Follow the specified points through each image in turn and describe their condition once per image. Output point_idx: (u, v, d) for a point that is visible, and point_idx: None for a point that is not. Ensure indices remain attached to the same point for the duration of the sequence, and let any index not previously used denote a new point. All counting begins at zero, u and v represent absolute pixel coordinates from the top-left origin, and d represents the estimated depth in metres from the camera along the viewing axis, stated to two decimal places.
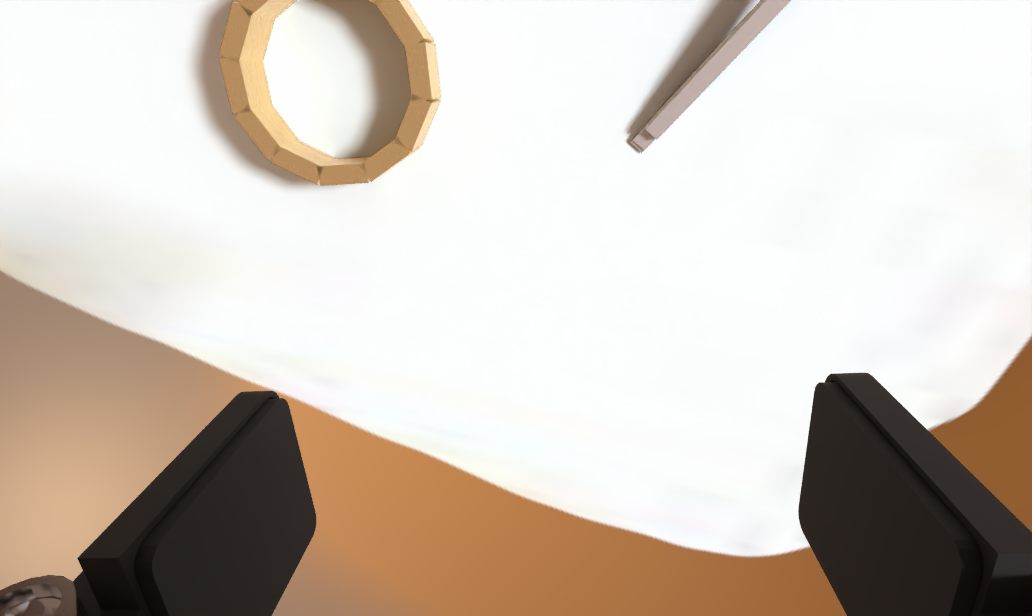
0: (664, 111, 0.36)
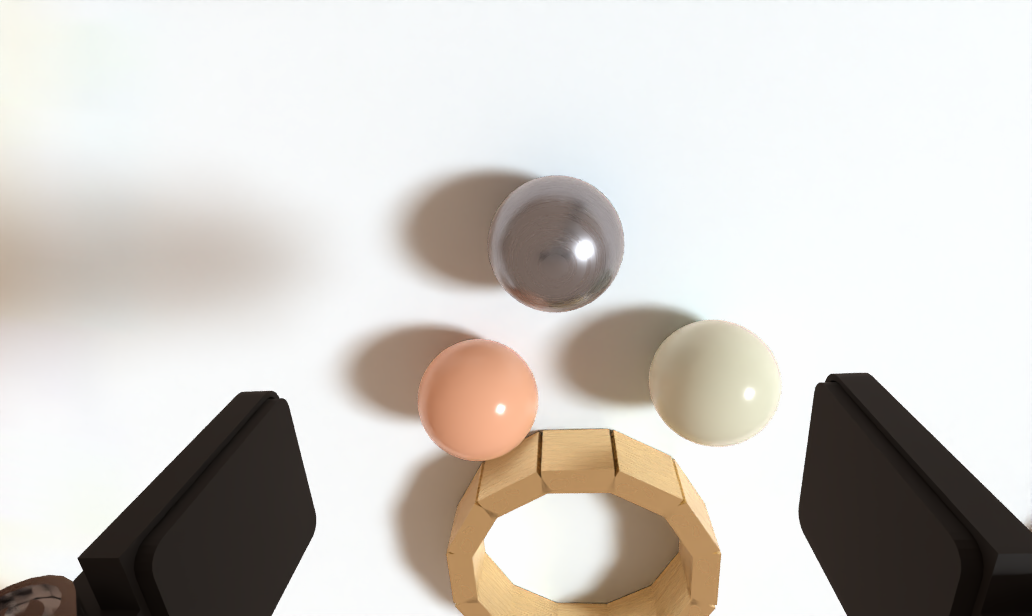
0: None
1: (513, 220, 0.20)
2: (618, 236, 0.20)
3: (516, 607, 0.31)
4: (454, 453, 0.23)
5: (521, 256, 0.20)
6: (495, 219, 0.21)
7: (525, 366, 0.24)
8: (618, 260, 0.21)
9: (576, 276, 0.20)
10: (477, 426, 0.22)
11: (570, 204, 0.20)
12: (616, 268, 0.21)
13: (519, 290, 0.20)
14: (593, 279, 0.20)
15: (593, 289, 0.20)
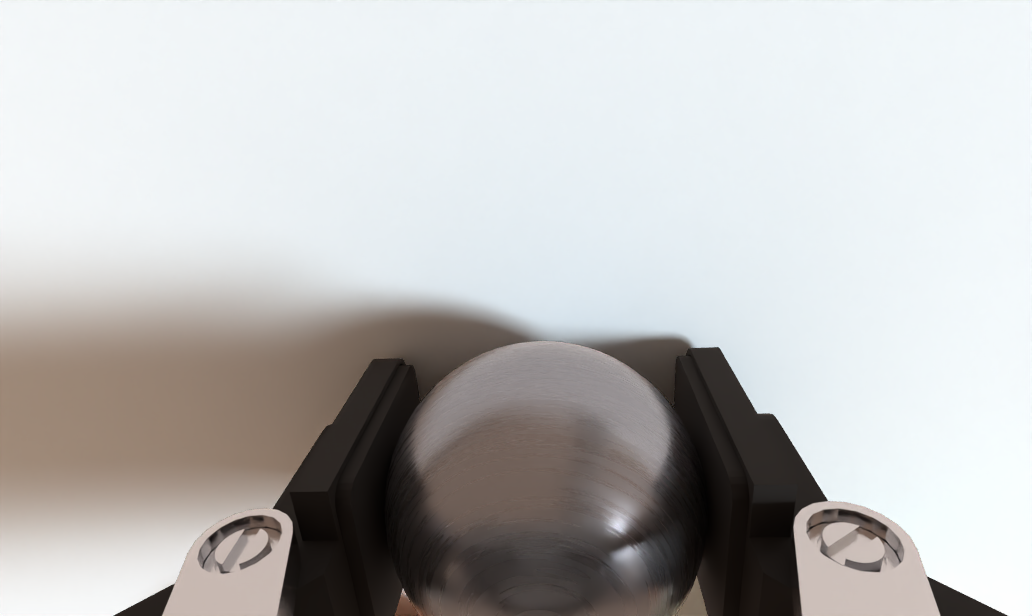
0: None
1: (432, 494, 0.08)
2: (701, 516, 0.08)
3: None
4: None
5: (451, 598, 0.07)
6: (396, 461, 0.09)
7: None
8: (698, 568, 0.08)
9: None
10: None
11: (582, 462, 0.07)
12: None
13: None
14: None
15: None
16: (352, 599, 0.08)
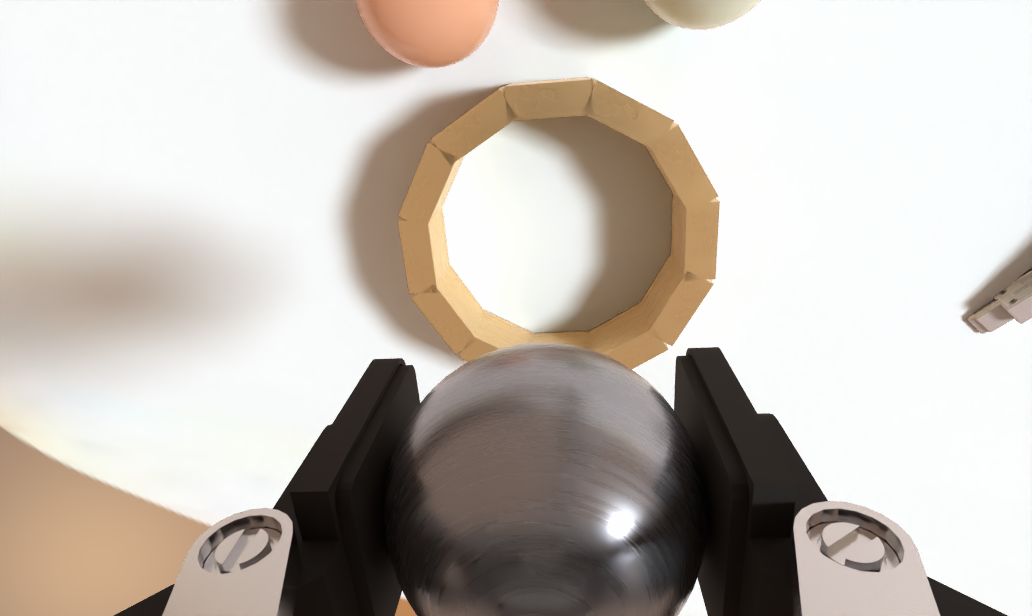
0: None
1: (432, 497, 0.08)
2: (701, 519, 0.08)
3: (485, 323, 0.27)
4: (395, 28, 0.19)
5: (450, 602, 0.07)
6: (395, 463, 0.09)
7: None
8: (699, 570, 0.08)
9: None
10: None
11: (582, 464, 0.07)
12: None
13: None
14: None
15: None
16: (353, 599, 0.08)
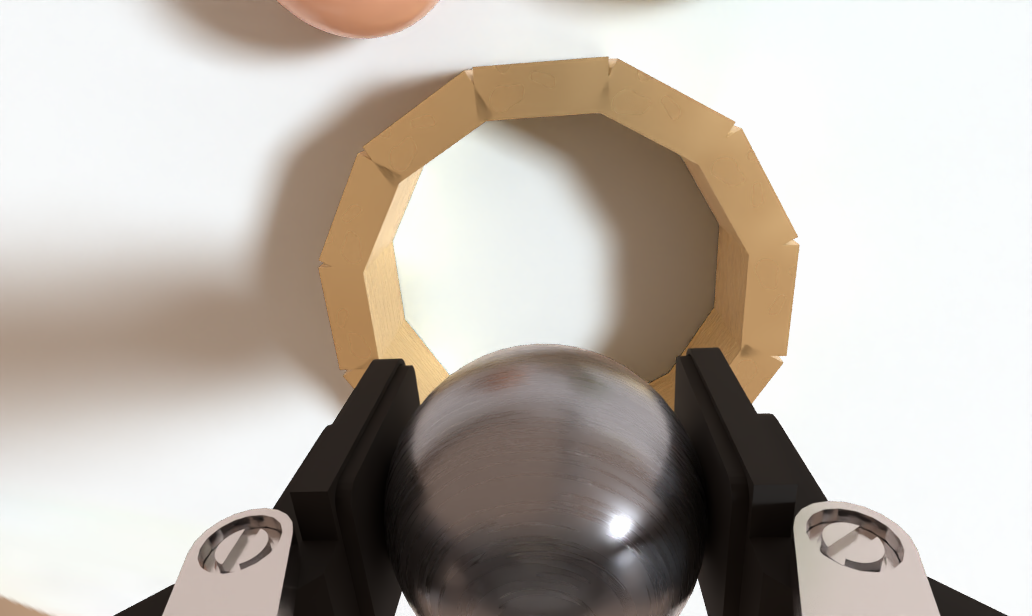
0: None
1: (432, 498, 0.08)
2: (701, 520, 0.08)
3: None
4: None
5: (451, 603, 0.07)
6: (396, 465, 0.09)
7: None
8: (699, 572, 0.08)
9: None
10: None
11: (582, 466, 0.07)
12: None
13: None
14: None
15: None
16: (352, 599, 0.08)
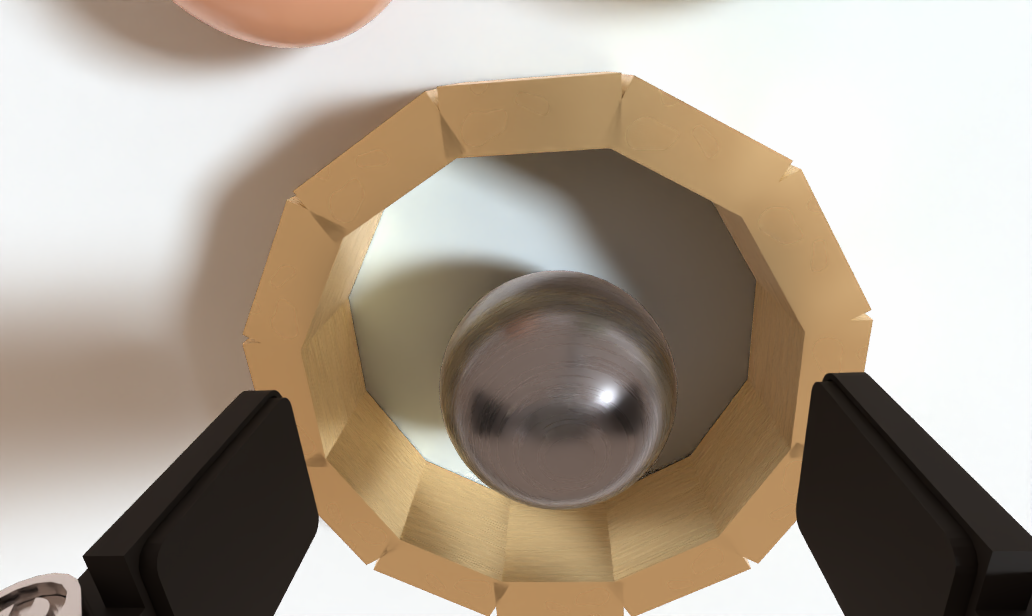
0: None
1: (488, 369, 0.11)
2: (673, 382, 0.11)
3: (425, 495, 0.15)
4: None
5: (506, 439, 0.10)
6: (452, 357, 0.12)
7: None
8: (673, 421, 0.12)
9: (609, 470, 0.11)
10: None
11: (594, 337, 0.10)
12: None
13: (501, 487, 0.11)
14: (636, 468, 0.11)
15: (635, 479, 0.11)
16: None
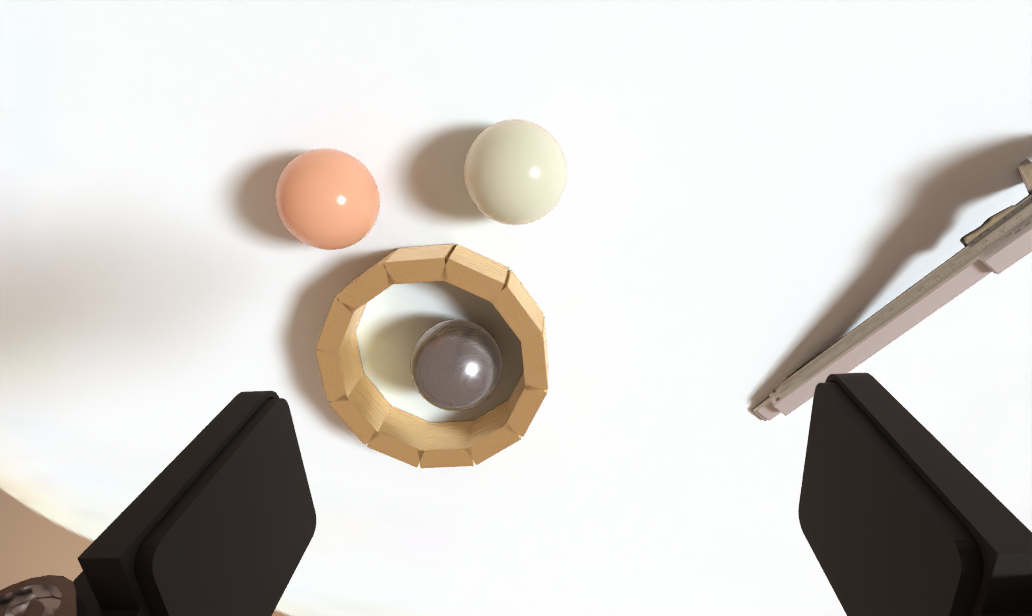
0: (796, 391, 0.33)
1: (440, 358, 0.30)
2: (499, 352, 0.32)
3: (389, 418, 0.35)
4: (302, 234, 0.28)
5: (452, 381, 0.30)
6: (421, 359, 0.30)
7: (363, 167, 0.29)
8: (501, 366, 0.32)
9: (486, 384, 0.31)
10: (315, 201, 0.27)
11: (474, 340, 0.31)
12: (501, 371, 0.32)
13: (449, 402, 0.31)
14: (494, 383, 0.31)
15: (493, 389, 0.32)
16: None
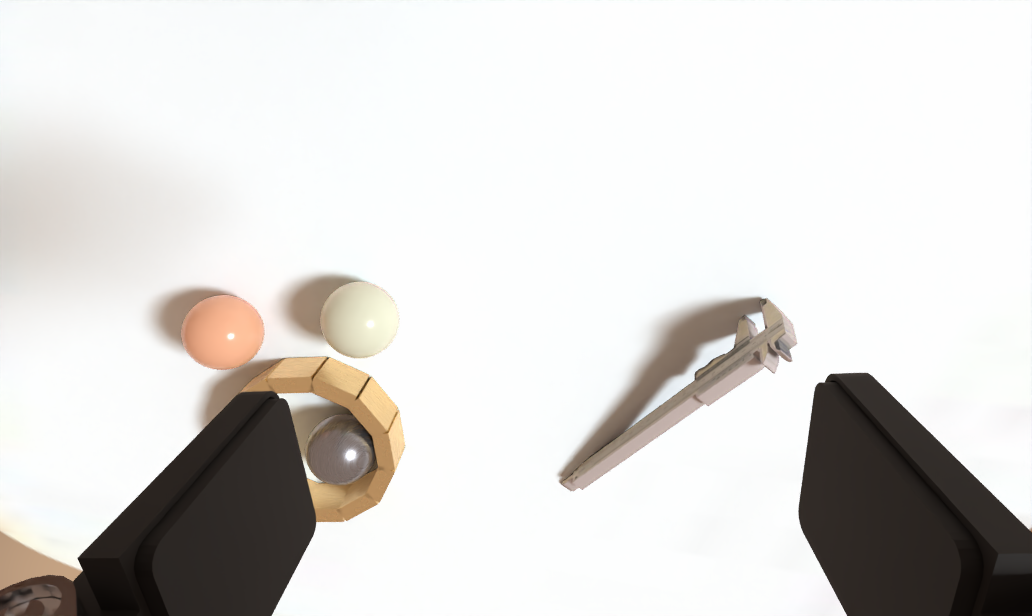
0: (587, 473, 0.43)
1: (336, 450, 0.40)
2: None
3: None
4: (200, 363, 0.38)
5: (347, 465, 0.40)
6: (320, 453, 0.40)
7: (248, 311, 0.39)
8: None
9: (371, 460, 0.42)
10: (207, 343, 0.37)
11: (358, 431, 0.41)
12: None
13: (345, 480, 0.41)
14: (375, 457, 0.42)
15: (374, 461, 0.43)
16: None
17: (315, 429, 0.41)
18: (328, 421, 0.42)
